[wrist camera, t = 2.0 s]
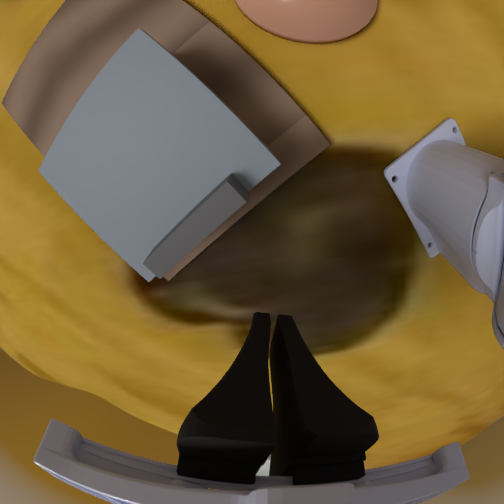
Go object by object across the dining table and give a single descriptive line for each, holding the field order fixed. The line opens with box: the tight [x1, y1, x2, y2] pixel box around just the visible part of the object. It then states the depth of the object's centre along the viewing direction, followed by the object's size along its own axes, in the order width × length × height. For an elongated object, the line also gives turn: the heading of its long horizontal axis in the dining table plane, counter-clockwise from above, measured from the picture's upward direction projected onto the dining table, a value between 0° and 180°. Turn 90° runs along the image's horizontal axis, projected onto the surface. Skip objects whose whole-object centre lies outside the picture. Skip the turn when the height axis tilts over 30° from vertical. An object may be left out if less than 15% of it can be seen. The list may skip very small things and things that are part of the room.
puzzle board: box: [2, 0, 330, 281], centre depth 16 cm, size 24×16×1 cm, turn 42°
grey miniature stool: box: [39, 28, 281, 282], centre depth 14 cm, size 10×10×6 cm
